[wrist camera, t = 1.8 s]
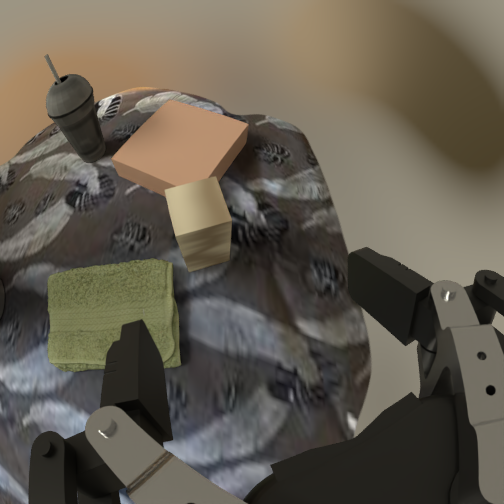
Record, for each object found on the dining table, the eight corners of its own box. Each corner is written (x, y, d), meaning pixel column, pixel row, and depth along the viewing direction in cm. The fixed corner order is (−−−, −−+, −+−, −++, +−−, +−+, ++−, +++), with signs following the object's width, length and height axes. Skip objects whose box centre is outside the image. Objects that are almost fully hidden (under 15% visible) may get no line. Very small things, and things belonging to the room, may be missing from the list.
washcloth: (187, 367, 28) (183, 368, 25) (57, 371, 26) (43, 371, 23) (175, 258, 33) (170, 248, 30) (54, 273, 30) (42, 265, 27)
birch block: (189, 272, 32) (175, 236, 23) (178, 235, 34) (164, 189, 24) (229, 260, 33) (232, 220, 24) (217, 224, 35) (215, 176, 25)
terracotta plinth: (119, 175, 36) (111, 158, 32) (172, 117, 41) (169, 99, 38) (198, 211, 35) (196, 194, 31) (246, 142, 40) (248, 124, 37)
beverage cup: (99, 172, 36) (50, 67, 18) (67, 166, 36) (16, 74, 18) (121, 138, 39) (89, 35, 20) (89, 135, 39) (53, 43, 20)
